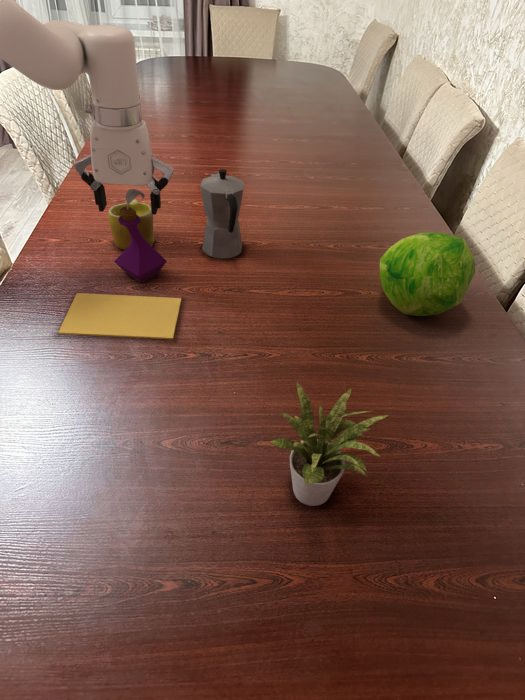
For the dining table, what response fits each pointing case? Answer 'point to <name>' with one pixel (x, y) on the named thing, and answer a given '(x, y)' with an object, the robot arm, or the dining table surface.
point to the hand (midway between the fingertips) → (129, 209)
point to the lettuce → (427, 273)
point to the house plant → (323, 448)
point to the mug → (145, 225)
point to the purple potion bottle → (137, 246)
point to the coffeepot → (222, 215)
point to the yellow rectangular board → (122, 316)
